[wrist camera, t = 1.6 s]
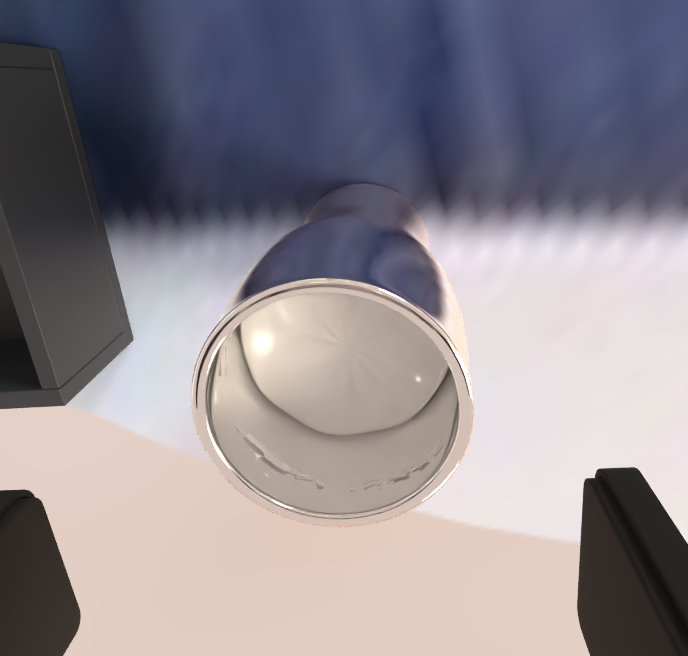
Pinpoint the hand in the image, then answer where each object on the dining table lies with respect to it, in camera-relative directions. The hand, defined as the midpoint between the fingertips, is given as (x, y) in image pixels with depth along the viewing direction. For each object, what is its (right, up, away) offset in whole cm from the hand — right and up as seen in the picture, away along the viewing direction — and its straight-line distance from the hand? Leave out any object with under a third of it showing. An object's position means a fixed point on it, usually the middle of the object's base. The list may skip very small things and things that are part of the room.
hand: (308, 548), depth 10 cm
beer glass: (+2, +7, +17) cm, 19 cm away
